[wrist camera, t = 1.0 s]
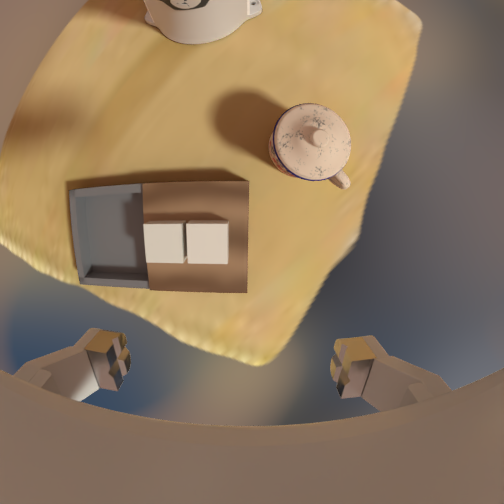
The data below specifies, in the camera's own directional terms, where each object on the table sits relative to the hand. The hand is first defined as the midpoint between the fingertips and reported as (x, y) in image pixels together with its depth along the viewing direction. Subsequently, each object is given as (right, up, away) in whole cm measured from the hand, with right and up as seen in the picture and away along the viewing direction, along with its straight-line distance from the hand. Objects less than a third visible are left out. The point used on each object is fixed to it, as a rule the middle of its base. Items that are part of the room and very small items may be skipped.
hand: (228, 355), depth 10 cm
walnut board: (-7, +7, +29) cm, 31 cm away
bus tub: (-20, +7, +29) cm, 36 cm away
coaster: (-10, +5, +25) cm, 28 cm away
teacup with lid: (+9, +17, +27) cm, 33 cm away
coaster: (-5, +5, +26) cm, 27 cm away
